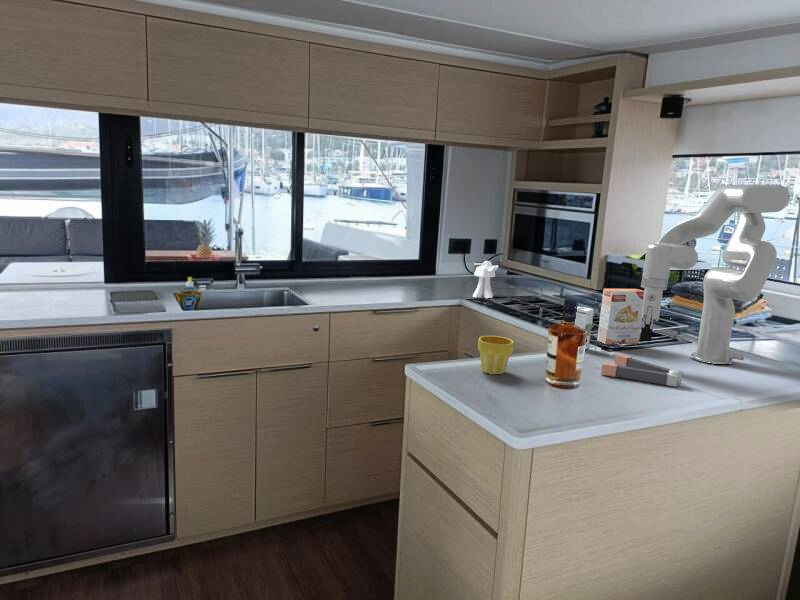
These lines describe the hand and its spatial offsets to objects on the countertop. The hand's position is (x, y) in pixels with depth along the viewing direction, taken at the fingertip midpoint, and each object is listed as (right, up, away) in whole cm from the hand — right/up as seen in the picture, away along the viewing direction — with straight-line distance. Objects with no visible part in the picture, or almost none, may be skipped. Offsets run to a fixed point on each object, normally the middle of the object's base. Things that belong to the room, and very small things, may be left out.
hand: (645, 340), depth 190 cm
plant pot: (-50, -9, -12) cm, 52 cm away
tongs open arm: (-3, -9, -6) cm, 12 cm away
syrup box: (-16, -4, +19) cm, 25 cm away
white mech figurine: (-36, +14, +112) cm, 118 cm away
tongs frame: (-7, -11, -13) cm, 18 cm away
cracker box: (0, -4, +25) cm, 25 cm away
